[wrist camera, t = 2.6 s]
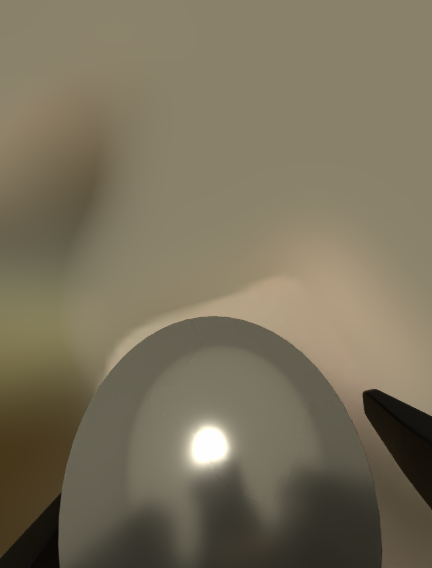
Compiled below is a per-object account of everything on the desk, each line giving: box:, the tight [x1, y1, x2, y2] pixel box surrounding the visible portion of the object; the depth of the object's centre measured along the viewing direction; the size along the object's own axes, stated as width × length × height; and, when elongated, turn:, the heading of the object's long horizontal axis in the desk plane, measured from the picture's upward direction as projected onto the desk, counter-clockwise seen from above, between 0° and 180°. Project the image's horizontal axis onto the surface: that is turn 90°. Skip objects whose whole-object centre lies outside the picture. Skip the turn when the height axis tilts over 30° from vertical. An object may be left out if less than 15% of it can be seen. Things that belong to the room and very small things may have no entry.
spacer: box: [58, 316, 382, 568], centre depth 8 cm, size 4×4×13 cm
